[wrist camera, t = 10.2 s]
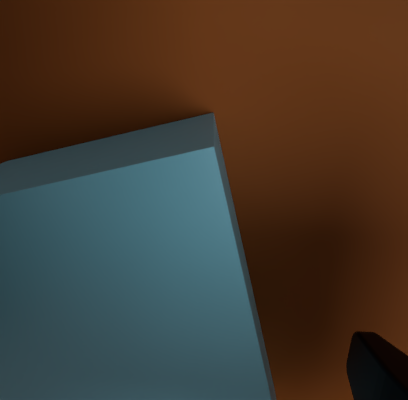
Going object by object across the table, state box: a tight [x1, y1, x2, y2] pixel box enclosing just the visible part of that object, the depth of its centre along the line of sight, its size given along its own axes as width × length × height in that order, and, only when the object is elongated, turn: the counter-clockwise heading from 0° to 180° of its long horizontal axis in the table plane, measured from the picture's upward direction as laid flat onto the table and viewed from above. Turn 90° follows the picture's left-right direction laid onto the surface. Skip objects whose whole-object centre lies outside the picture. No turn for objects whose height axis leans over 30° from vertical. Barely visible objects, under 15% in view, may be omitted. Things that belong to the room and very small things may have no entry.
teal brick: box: [0, 113, 276, 400], centre depth 8 cm, size 5×8×4 cm, turn 13°
